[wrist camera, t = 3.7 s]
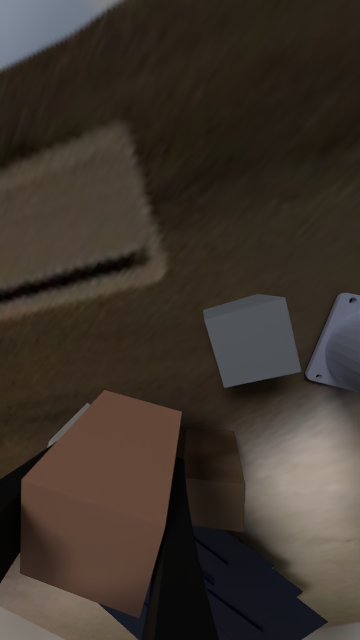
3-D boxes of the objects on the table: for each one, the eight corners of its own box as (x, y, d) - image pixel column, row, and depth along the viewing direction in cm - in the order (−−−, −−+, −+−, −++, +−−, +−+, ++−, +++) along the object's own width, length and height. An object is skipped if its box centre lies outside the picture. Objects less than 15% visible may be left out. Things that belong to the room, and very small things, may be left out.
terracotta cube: (181, 411, 10) (165, 527, 5) (165, 474, 11) (139, 618, 6) (104, 390, 10) (21, 479, 6) (96, 452, 12) (20, 573, 7)
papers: (213, 657, 24) (212, 719, 20) (53, 521, 28) (29, 553, 24) (323, 567, 18) (348, 630, 15) (105, 413, 22) (84, 435, 19)
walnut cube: (233, 430, 18) (245, 484, 13) (232, 468, 19) (243, 532, 14) (186, 427, 18) (181, 477, 14) (187, 464, 19) (183, 524, 15)
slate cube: (257, 294, 15) (285, 297, 10) (269, 345, 16) (301, 371, 11) (203, 310, 16) (204, 320, 11) (217, 358, 17) (224, 387, 12)
